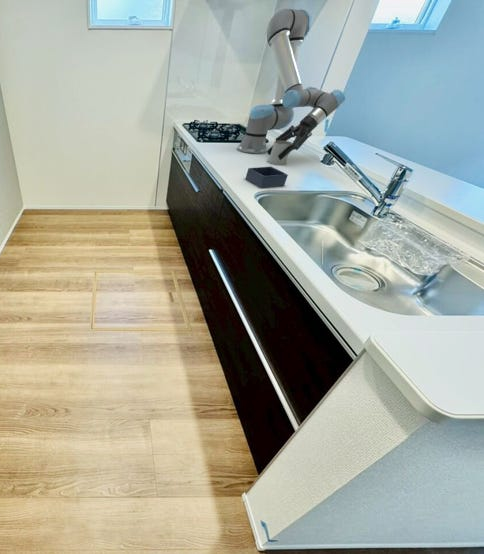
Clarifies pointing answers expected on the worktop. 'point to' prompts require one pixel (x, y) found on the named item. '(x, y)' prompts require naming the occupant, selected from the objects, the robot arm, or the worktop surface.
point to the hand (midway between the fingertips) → (273, 155)
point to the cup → (278, 152)
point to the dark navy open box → (266, 177)
